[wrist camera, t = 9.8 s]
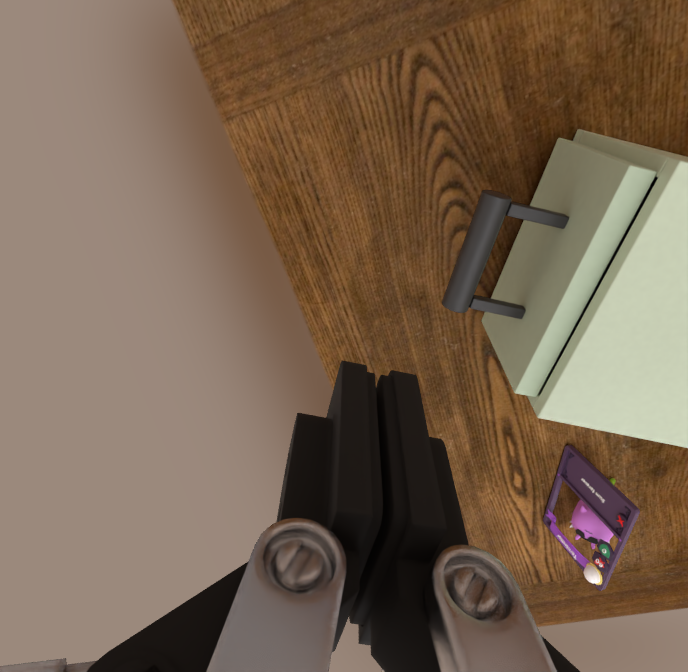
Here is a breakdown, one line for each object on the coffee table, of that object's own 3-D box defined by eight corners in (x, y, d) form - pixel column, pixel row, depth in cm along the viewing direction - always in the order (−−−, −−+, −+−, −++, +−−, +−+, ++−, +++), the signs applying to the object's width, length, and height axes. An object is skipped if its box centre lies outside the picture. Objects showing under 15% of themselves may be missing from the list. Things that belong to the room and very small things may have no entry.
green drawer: (417, 307, 30) (433, 376, 24) (480, 117, 25) (525, 138, 18) (684, 364, 32) (771, 445, 25) (802, 199, 26) (955, 246, 19)
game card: (627, 514, 31) (592, 595, 36) (687, 495, 32) (646, 575, 37) (557, 446, 37) (535, 523, 41) (612, 432, 38) (584, 508, 42)
